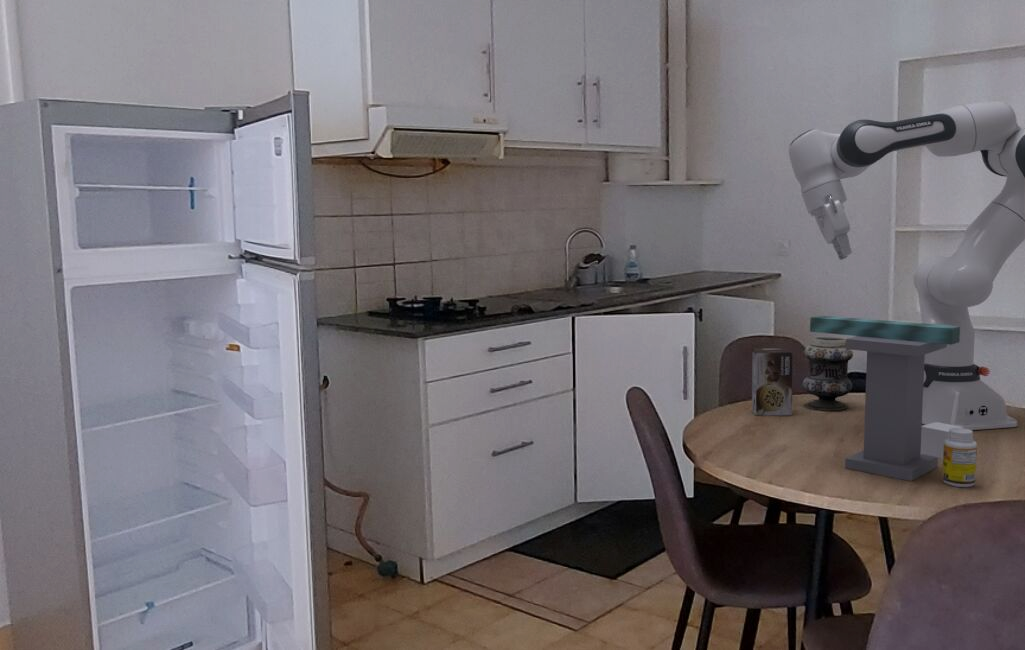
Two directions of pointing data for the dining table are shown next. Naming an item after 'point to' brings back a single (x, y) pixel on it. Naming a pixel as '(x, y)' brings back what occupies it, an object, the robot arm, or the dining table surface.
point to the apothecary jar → (828, 372)
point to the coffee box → (772, 381)
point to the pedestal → (893, 408)
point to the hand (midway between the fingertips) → (845, 256)
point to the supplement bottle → (959, 458)
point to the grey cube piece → (935, 438)
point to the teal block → (886, 329)
